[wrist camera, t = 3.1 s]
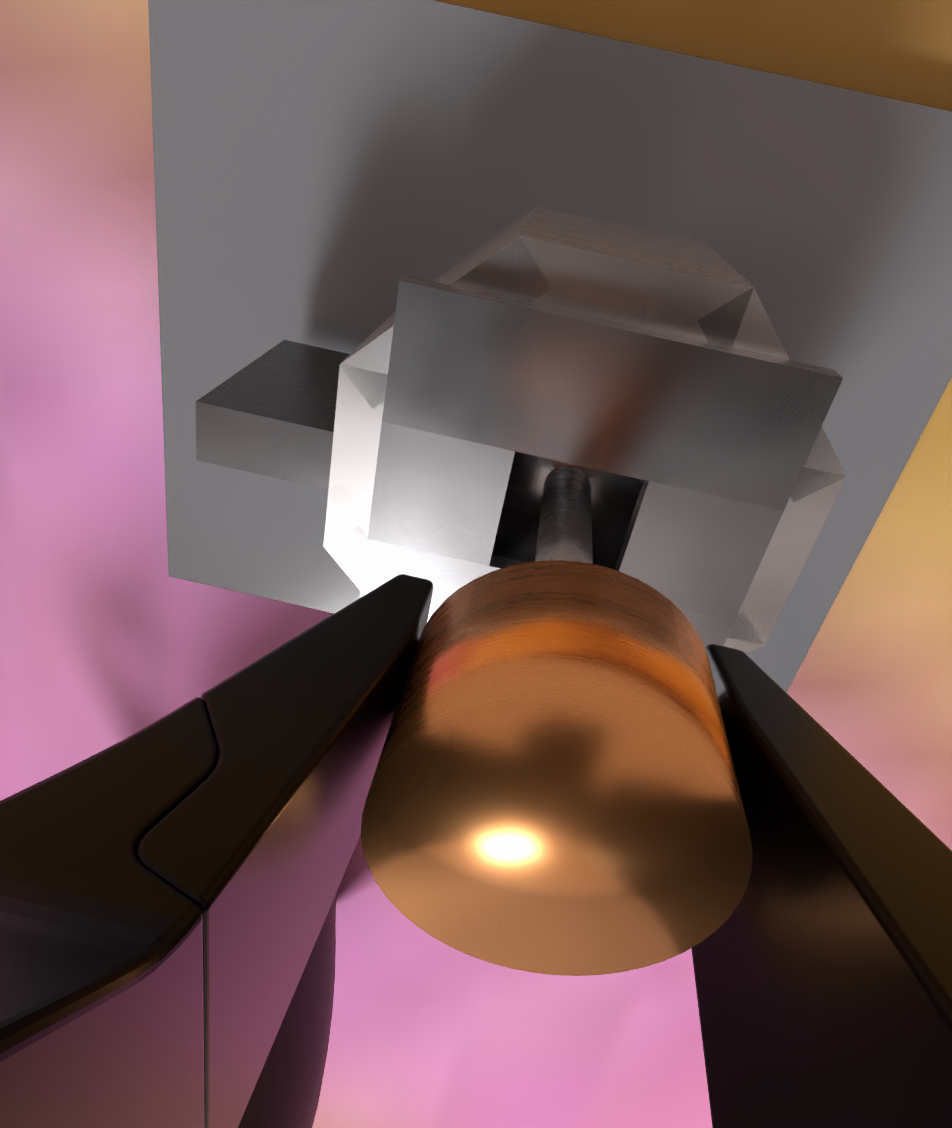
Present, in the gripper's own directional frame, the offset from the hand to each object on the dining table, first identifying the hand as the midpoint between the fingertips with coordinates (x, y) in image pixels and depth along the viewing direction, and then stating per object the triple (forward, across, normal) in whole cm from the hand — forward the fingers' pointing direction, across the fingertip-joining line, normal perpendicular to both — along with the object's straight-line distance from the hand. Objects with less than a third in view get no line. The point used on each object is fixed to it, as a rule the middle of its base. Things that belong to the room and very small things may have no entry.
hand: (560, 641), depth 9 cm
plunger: (+5, 0, 0) cm, 5 cm away
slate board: (+9, +1, 0) cm, 9 cm away
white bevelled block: (+8, +1, 0) cm, 8 cm away
